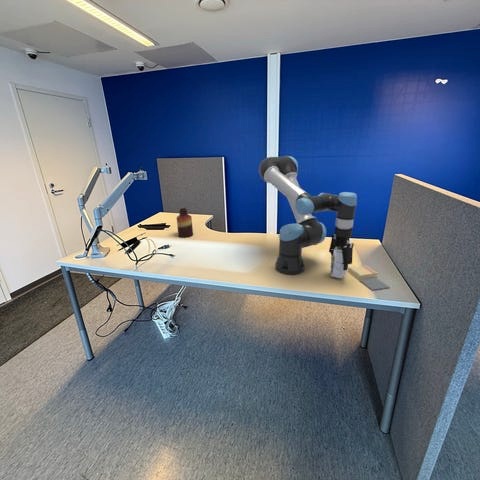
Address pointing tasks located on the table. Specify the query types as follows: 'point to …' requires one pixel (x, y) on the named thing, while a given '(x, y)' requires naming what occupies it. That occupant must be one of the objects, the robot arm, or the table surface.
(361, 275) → the board
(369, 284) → the stub mat
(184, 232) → the brown cylindrical bottle
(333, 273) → the syrup box
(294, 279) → the table surface
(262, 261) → the table surface
